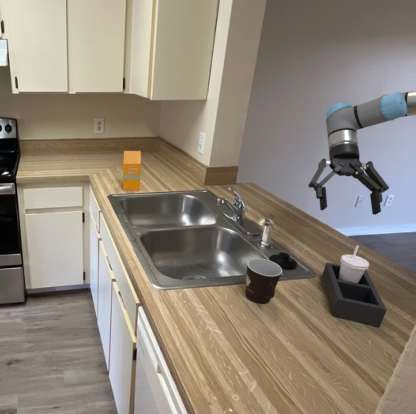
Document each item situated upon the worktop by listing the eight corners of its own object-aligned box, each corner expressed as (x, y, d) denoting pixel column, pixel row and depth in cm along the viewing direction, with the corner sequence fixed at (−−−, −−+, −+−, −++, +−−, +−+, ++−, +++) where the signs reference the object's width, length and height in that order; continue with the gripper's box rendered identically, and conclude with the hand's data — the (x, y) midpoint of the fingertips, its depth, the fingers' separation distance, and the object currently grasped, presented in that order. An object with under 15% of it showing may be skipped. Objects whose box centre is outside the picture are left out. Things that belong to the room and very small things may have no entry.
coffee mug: (243, 283, 99) (249, 255, 95) (275, 293, 95) (283, 263, 91) (236, 306, 90) (243, 275, 86) (271, 317, 86) (280, 286, 82)
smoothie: (336, 279, 100) (350, 238, 94) (361, 289, 95) (378, 247, 90) (328, 287, 96) (342, 246, 90) (354, 299, 91) (371, 255, 86)
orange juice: (122, 185, 181) (123, 149, 173) (138, 185, 181) (140, 149, 173) (123, 190, 174) (124, 152, 166) (139, 190, 173) (141, 152, 165)
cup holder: (360, 285, 98) (366, 270, 96) (379, 327, 83) (386, 309, 80) (321, 277, 102) (326, 262, 100) (332, 316, 86) (338, 299, 84)
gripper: (382, 156, 105) (391, 219, 97) (295, 152, 110) (297, 211, 103) (397, 143, 98) (409, 209, 91) (304, 140, 104) (307, 201, 96)
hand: (349, 210), depth 97 cm, fingers open, 13 cm apart
